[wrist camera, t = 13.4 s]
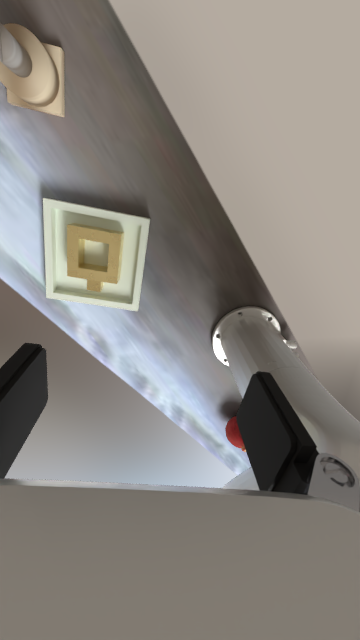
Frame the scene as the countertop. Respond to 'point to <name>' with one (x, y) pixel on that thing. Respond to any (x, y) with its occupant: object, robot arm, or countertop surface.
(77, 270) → the ring
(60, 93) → the beige post on base
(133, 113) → the countertop surface
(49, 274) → the tray
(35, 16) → the countertop surface
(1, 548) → the robot arm
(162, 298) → the countertop surface
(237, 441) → the onion
